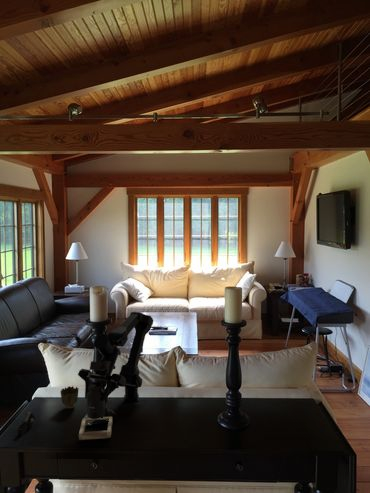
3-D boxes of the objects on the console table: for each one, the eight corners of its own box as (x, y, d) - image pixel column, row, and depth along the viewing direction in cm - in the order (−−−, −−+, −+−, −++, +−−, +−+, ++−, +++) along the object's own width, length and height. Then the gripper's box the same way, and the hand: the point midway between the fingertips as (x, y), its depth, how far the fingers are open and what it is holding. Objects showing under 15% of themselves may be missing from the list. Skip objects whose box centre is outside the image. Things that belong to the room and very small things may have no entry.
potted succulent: (57, 410, 166) (56, 391, 165) (68, 402, 172) (67, 384, 172) (71, 413, 163) (71, 394, 162) (82, 405, 170) (82, 387, 169)
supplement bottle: (87, 420, 145) (86, 389, 144) (86, 412, 151) (85, 382, 150) (106, 417, 147) (105, 386, 146) (104, 409, 153) (103, 379, 152)
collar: (83, 423, 154) (82, 418, 154) (112, 421, 156) (112, 416, 156) (78, 440, 143) (78, 434, 143) (110, 437, 144) (110, 431, 144)
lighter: (26, 440, 148) (21, 432, 145) (21, 439, 148) (15, 431, 145) (37, 418, 155) (32, 410, 151) (31, 417, 155) (26, 409, 152)
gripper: (79, 348, 154) (63, 387, 145) (121, 354, 148) (106, 395, 138) (91, 361, 162) (76, 398, 153) (132, 366, 156) (118, 406, 146)
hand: (93, 399), depth 147 cm, fingers closed on supplement bottle, 7 cm apart
